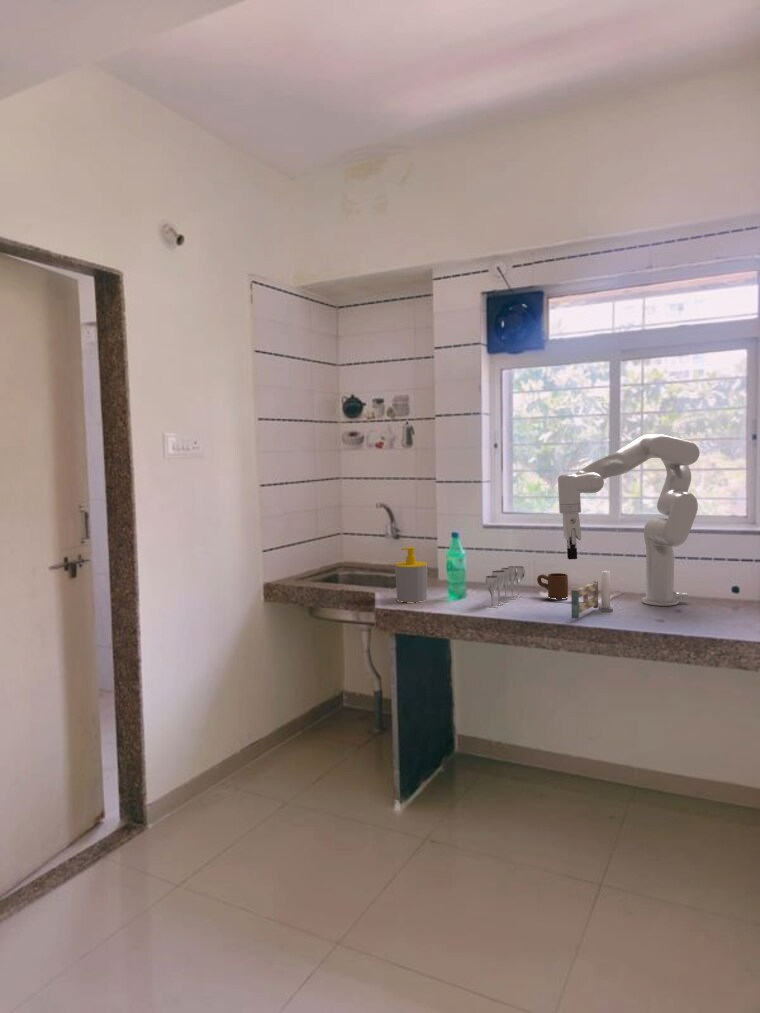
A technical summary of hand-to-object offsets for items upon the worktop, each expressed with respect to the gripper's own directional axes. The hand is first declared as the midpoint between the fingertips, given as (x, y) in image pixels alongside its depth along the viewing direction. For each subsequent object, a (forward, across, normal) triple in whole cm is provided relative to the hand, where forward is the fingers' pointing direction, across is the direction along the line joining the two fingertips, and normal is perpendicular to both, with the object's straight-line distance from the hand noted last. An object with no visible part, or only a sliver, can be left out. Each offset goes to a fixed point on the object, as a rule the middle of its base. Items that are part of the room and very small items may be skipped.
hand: (572, 558), depth 248 cm
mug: (+19, +18, +6) cm, 27 cm away
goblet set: (+18, +12, +24) cm, 32 cm away
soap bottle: (+16, +16, +60) cm, 65 cm away
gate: (+17, -10, -2) cm, 20 cm away
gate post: (+19, -2, -10) cm, 22 cm away
